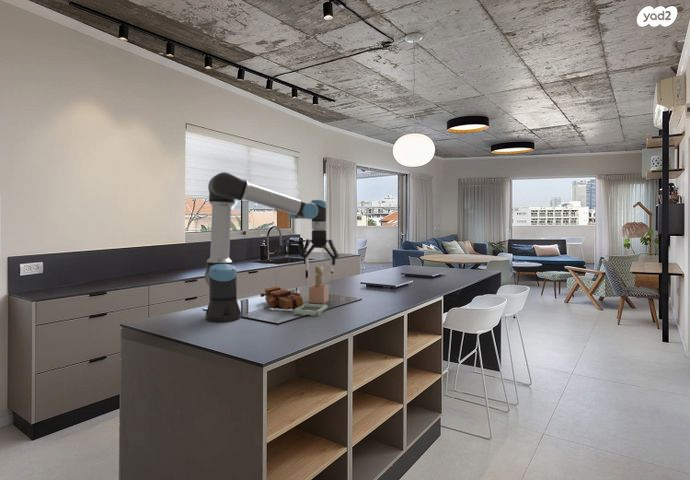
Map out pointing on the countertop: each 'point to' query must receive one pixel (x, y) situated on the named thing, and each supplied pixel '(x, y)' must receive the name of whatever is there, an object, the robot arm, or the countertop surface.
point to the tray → (310, 312)
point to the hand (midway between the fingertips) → (319, 271)
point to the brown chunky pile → (282, 298)
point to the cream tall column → (318, 276)
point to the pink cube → (318, 294)
